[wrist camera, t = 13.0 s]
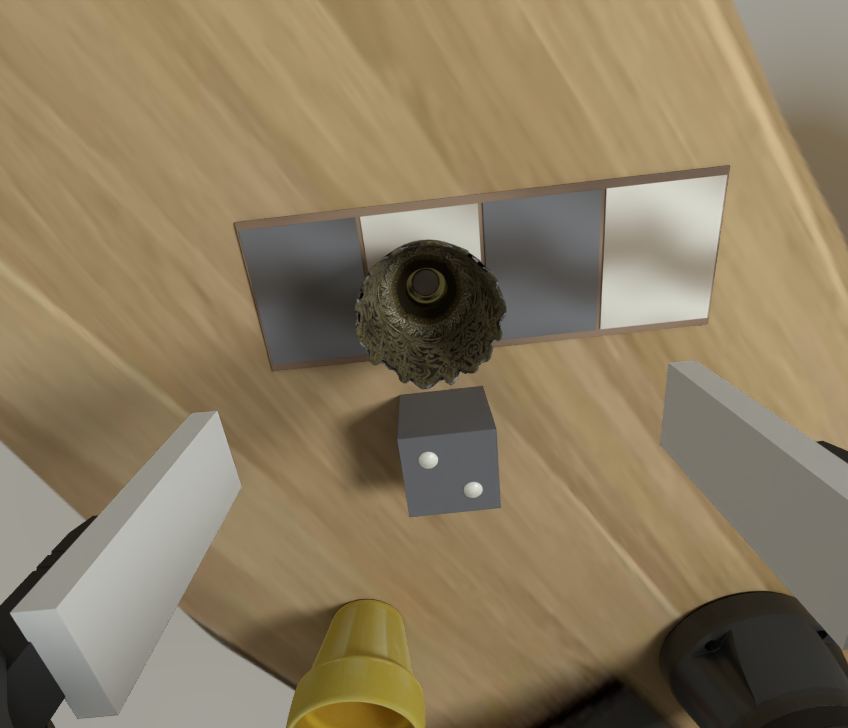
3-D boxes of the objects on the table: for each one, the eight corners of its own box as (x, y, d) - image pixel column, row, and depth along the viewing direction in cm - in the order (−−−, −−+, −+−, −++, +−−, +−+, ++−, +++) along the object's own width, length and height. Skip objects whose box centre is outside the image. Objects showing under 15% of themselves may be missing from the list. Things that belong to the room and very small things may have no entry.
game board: (705, 323, 32) (708, 324, 32) (273, 369, 32) (272, 371, 32) (728, 165, 28) (731, 165, 28) (235, 222, 29) (233, 222, 28)
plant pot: (289, 604, 41) (255, 726, 32) (394, 568, 40) (389, 685, 31) (342, 672, 45) (325, 798, 36) (440, 642, 44) (447, 765, 35)
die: (487, 455, 36) (500, 508, 30) (410, 463, 36) (409, 518, 30) (482, 385, 33) (496, 429, 28) (399, 394, 34) (397, 440, 28)
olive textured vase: (344, 288, 30) (322, 328, 23) (419, 196, 28) (421, 207, 21) (431, 357, 32) (437, 414, 25) (506, 276, 30) (537, 312, 23)
